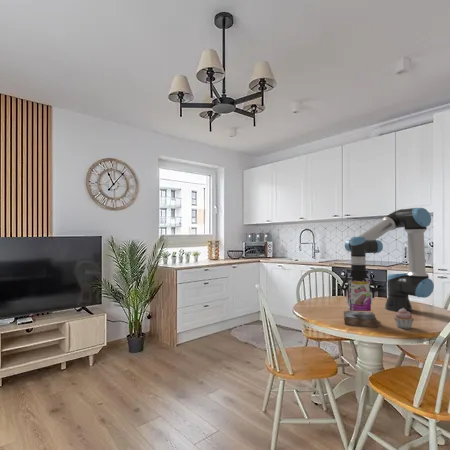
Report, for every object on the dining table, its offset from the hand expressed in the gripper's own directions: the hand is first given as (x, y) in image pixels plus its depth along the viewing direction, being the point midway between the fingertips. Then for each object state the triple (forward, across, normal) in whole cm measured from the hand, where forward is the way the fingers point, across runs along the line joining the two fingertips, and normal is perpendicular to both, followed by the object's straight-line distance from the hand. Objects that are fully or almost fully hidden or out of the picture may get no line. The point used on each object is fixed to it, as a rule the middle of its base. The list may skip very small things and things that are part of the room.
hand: (359, 303), depth 173 cm
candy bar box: (+4, 0, 0) cm, 4 cm away
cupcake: (+10, +21, -4) cm, 24 cm away
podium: (+10, 0, 0) cm, 10 cm away
